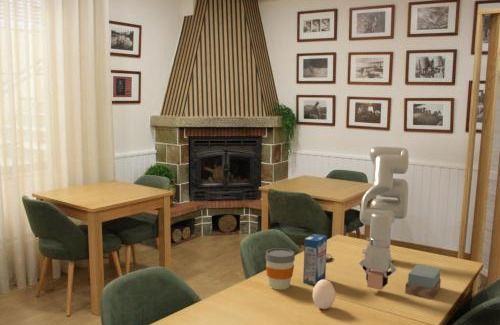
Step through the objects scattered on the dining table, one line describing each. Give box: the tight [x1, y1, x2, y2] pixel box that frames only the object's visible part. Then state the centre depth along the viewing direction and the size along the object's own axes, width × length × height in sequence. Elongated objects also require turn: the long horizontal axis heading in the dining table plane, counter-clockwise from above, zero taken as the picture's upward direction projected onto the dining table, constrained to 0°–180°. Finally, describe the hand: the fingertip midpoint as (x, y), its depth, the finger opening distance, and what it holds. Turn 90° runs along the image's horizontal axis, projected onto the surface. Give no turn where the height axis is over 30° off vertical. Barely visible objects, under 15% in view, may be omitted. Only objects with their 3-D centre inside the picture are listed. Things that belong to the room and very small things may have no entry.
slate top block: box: [407, 264, 442, 289], centre depth 207 cm, size 10×14×4 cm
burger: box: [326, 252, 332, 263], centre depth 247 cm, size 12×12×8 cm
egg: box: [312, 278, 336, 310], centre depth 188 cm, size 9×9×11 cm
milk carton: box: [302, 233, 328, 286], centre depth 215 cm, size 10×6×20 cm, turn 148°
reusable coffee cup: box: [265, 247, 296, 290], centre depth 209 cm, size 13×13×15 cm
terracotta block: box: [366, 269, 387, 291], centre depth 205 cm, size 6×6×6 cm
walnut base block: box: [404, 278, 442, 300], centre depth 208 cm, size 11×15×4 cm
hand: (376, 283), depth 205 cm, fingers closed on terracotta block, 6 cm apart
